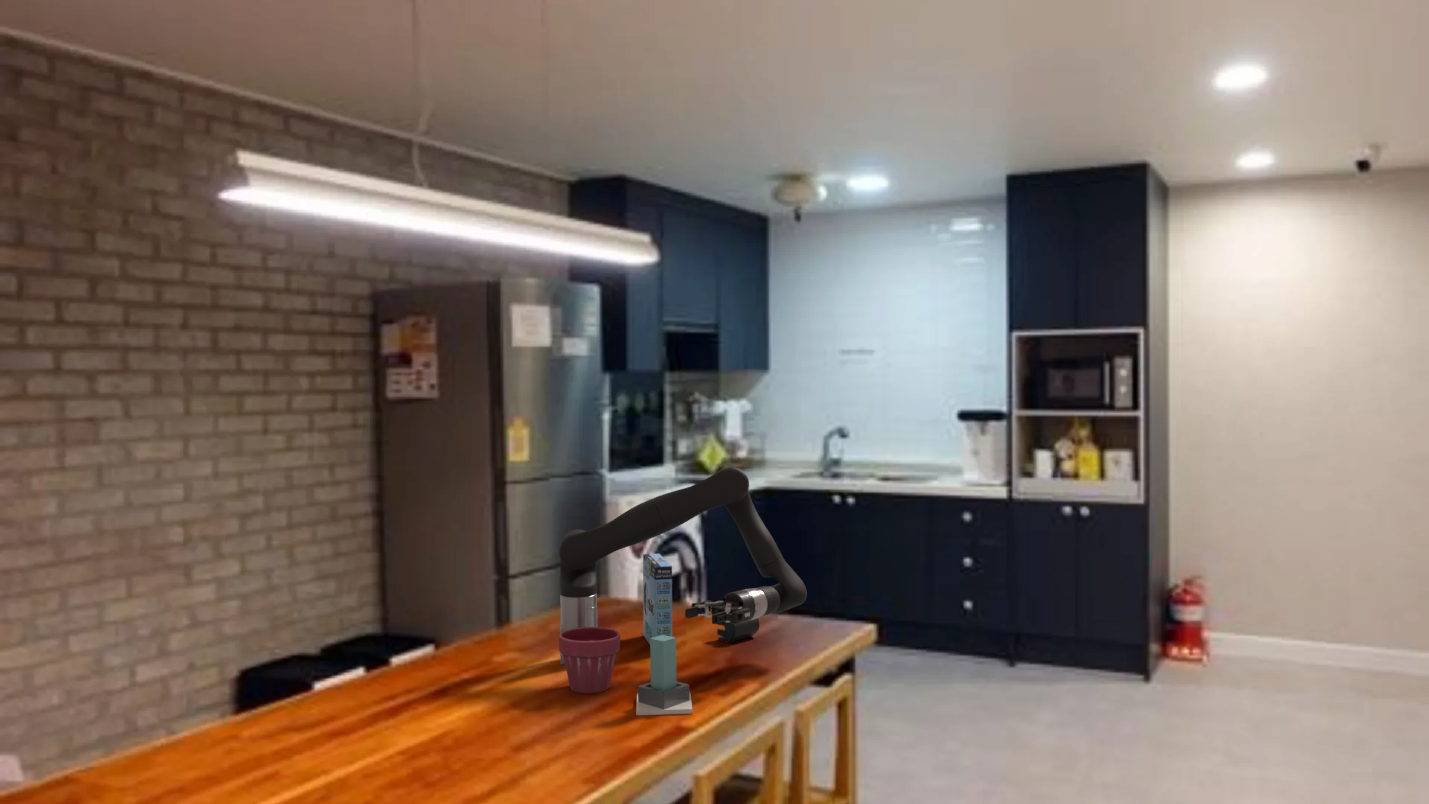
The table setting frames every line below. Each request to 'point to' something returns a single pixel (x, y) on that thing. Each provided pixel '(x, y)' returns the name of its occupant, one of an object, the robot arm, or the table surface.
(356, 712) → the table surface
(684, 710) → the base board
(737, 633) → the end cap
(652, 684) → the teal peg
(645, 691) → the metal collar
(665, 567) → the light blue cardboard box
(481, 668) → the table surface
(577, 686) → the plant pot
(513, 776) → the table surface
